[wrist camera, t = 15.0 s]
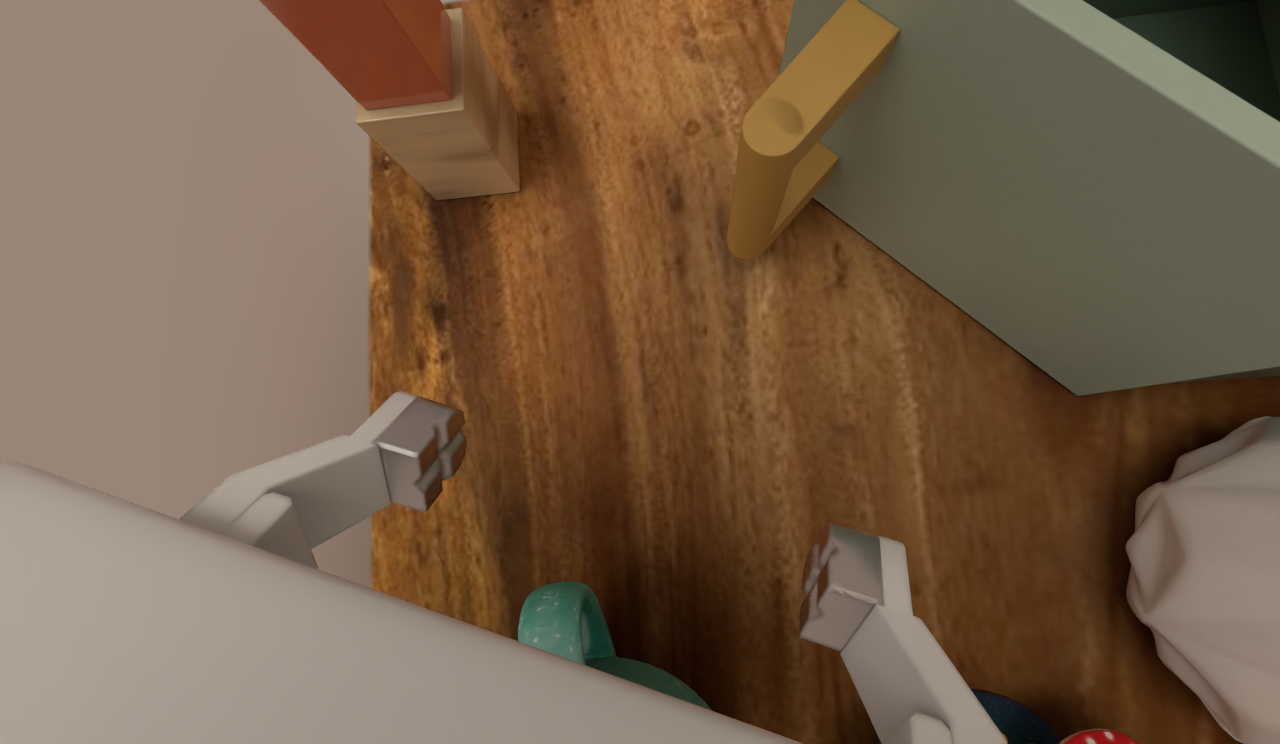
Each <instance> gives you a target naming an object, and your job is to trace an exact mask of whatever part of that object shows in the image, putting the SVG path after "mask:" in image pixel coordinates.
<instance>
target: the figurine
mask: <svg viewBox="0 0 1280 744" xmlns="http://www.w3.org/2000/svg"><path fill="white" fill-rule="evenodd" d="M971 691H972V692H973V694H974V695H975V696H976V698H977V699H978V701H979V702H980V704H981V705H982V706H983V708H984V709H985V711H986V712H987V714H988V715H989V716H990V718H991V719H992V721H993V722H994V724H995V725H996V726H997V728H998V729H999V731H1000V732H1001V734H1002V735H1003V736H1004V738H1005V739H1006V741H1007V744H1139V743H1138V742H1137V741H1136V740H1134V739H1133V738H1131V737H1129V736H1127V735H1125V734H1123V733H1121V732H1117V731H1113V730H1109V729H1088V730H1083V731H1080V732H1077V733H1074V734H1072V735H1070V736H1068V737H1067V738H1065V739H1063V740H1062V741H1061V740H1060V739H1059V737H1058V736H1057V735H1056V734H1055V732H1054V731H1053V730H1052V728H1051V727H1050V726H1049V725H1048V723H1047V722H1046V721H1044V720H1043V719H1042V718H1040V717H1039V716H1037V715H1036V714H1035V713H1033V712H1032V711H1031V710H1029V709H1028V708H1026V707H1025V706H1023V705H1021V704H1019V703H1017V702H1015V701H1013V700H1011V699H1009V698H1007V697H1005V696H1001V695H998V694H995V693H991V692H988V691H984V690H976V689H971ZM877 744H882V743H881V741H880V739H878V741H877Z"/></svg>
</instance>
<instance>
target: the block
mask: <svg viewBox="0 0 1280 744" xmlns="http://www.w3.org/2000/svg"><path fill="white" fill-rule="evenodd" d="M259 1H260V2H261V3H262V4H263V5H264V6H265V7H266V8H267V9H268V10H269V11H270V12H271V13H272V14H273V15H274V16H275V17H276V18H277V19H278V20H279V21H280V22H281V23H282V24H283V25H284V26H285V27H286V28H287V29H288V30H289V32H291V34H292V35H293V36H294V37H295V38H296V39H297V40H298V41H299V42H300V43H301V44H302V45H303V46H304V47H305V48H306V49H307V50H308V51H309V52H310V53H311V54H312V55H313V56H314V57H315V58H316V59H317V60H318V61H319V62H320V63H321V64H322V65H323V66H324V67H325V69H326V70H327V71H329V73H330V74H331V75H332V76H333V77H334V78H335V79H336V80H337V81H338V82H339V83H340V84H341V85H342V86H343V87H344V88H345V89H346V90H347V91H348V92H349V93H350V94H351V95H352V96H353V97H354V98H355V99H356V100H357V101H358V102H359V103H360V104H361V106H362V107H363V108H364V109H365V110H372V109H380V108H389V107H397V106H405V105H413V104H421V103H429V102H437V101H445V100H451V99H452V78H451V19H450V17H449V15H448V13H447V11H446V10H445V8H444V6H443V4H442V3H441V1H440V0H259Z"/></svg>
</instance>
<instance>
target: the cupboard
mask: <svg viewBox="0 0 1280 744" xmlns="http://www.w3.org/2000/svg"><path fill="white" fill-rule="evenodd" d="M1083 1H1084V2H1086V3H1088V4H1089V5H1091V6H1093V7H1094V8H1096V9H1097V10H1099V11H1101V12H1102V13H1104V14H1106V15H1107V16H1109V17H1110V18H1112V19H1114V20H1115V21H1117V22H1119V23H1120V24H1122V25H1123V26H1125V27H1127V28H1128V29H1130V30H1132V31H1133V32H1135V33H1136V34H1138V35H1140V36H1141V37H1143V38H1144V39H1146V40H1148V41H1149V42H1151V43H1153V44H1154V45H1156V46H1157V47H1159V48H1161V49H1162V50H1164V51H1166V52H1167V53H1169V54H1170V55H1172V56H1174V57H1175V58H1177V59H1179V60H1180V61H1182V62H1183V63H1185V64H1187V65H1188V66H1190V67H1192V68H1193V69H1195V70H1196V71H1198V72H1200V73H1201V74H1203V75H1204V76H1206V77H1208V78H1209V79H1211V80H1213V81H1214V82H1216V83H1217V84H1219V85H1221V86H1222V87H1224V88H1226V89H1227V90H1229V91H1230V92H1232V93H1234V94H1235V95H1237V96H1239V97H1240V98H1242V99H1243V100H1245V101H1247V102H1248V103H1250V104H1252V105H1253V106H1255V107H1256V108H1258V109H1260V110H1261V111H1263V112H1264V113H1266V114H1268V115H1269V116H1271V117H1273V118H1274V119H1276V120H1277V121H1279V122H1280V0H1083ZM1274 376H1280V367H1273V368H1266V369H1260V370H1253V371H1246V372H1239V373H1232V374H1226V375H1219V376H1212V377H1205V378H1198V379H1192V380H1185V381H1178V382H1171V383H1164V384H1172V383H1187V382H1201V381H1216V380H1230V379H1245V378H1259V377H1274Z"/></svg>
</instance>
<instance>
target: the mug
mask: <svg viewBox="0 0 1280 744" xmlns="http://www.w3.org/2000/svg"><path fill="white" fill-rule="evenodd" d="M518 641H519V642H522V643H524V644H527V645H530V646H533V647H536V648H538V649H541V650H544V651H547V652H550V653H552V654H555V655H558V656H561V657H564V658H566V659H569V660H572V661H575V662H578V663H580V664H583V665H586V666H589V667H591V668H594V669H597V670H600V671H603V672H605V673H608V674H611V675H614V676H617V677H619V678H622V679H625V680H628V681H630V682H633V683H636V684H639V685H642V686H644V687H647V688H650V689H653V690H656V691H658V692H661V693H664V694H667V695H669V696H672V697H675V698H678V699H681V700H683V701H686V702H689V703H692V704H694V705H697V706H700V707H703V708H706V709H708V710H711V711H712V709H711V708H710V707H709V706H708V705H707V704H706V703H705V701H704V700H703V699H702V698H701V697H700V696H699V695H698V694H697V693H696V692H694V691H693V690H692V689H691V688H690V687H689V686H688V685H686V684H685V683H683V682H682V681H681V680H679V679H678V678H676V677H675V676H673V675H671V674H669V673H667V672H665V671H663V670H662V669H660V668H657V667H655V666H652V665H650V664H647V663H644V662H640V661H637V660H632V659H627V658H619V657H617V656H616V653H615V649H614V646H613V642H612V639H611V636H610V633H609V629H608V626H607V624H606V621H605V618H604V615H603V612H602V610H601V607H600V605H599V602H598V600H597V598H596V596H595V594H594V592H593V591H592V589H591V588H590V587H589V586H588V585H586V584H584V583H580V582H576V581H562V582H556V583H552V584H548V585H545V586H542V587H540V588H538V589H536V590H534V591H533V592H532V593H530V594H529V596H528V597H527V599H526V600H525V602H524V605H523V608H522V611H521V615H520V620H519V627H518Z"/></svg>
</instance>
